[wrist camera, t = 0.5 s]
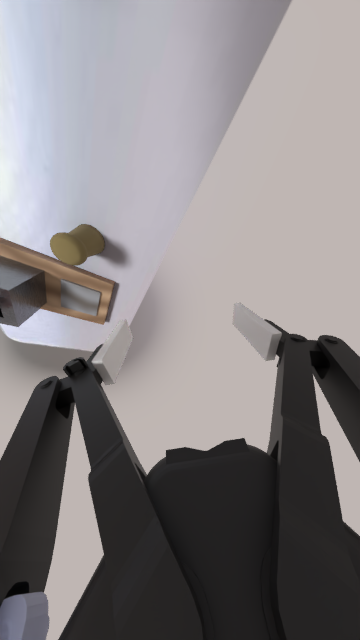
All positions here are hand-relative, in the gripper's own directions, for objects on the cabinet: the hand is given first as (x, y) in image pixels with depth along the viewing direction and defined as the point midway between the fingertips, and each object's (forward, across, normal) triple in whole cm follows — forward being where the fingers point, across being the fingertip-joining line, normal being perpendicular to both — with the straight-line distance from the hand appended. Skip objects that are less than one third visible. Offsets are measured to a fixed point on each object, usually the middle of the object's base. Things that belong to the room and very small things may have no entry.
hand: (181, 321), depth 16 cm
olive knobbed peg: (+23, -18, +12) cm, 32 cm away
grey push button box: (+22, -38, +6) cm, 44 cm away
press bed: (+25, -32, +3) cm, 41 cm away
